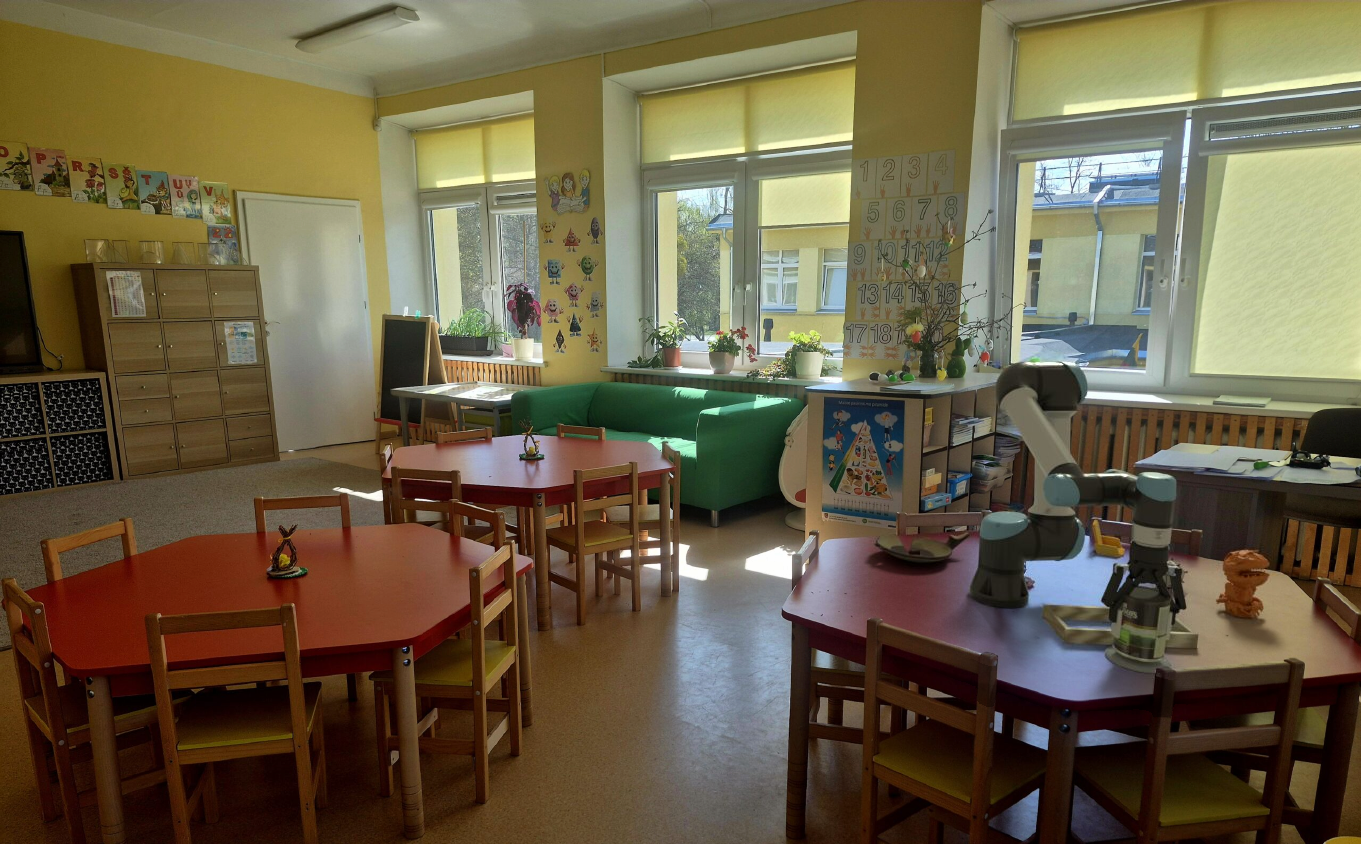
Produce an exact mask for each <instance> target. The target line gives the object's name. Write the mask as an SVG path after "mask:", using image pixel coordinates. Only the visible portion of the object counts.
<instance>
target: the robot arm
mask: <svg viewBox="0 0 1361 844" xmlns="http://www.w3.org/2000/svg"><path fill="white" fill-rule="evenodd" d="M1088 388H1089V387H1088V380H1087V377H1086V375H1085V373H1084V370H1082V369H1081V367H1080V366H1079V365H1078V364H1076V363H1074V362H1072V361H1071V362H1070V361H1059V360H1056V361H1019V362H1015V363H1012V364H1010V365H1009V366H1007V367H1006V368H1004V370H1002V372H1001V373H1000V374H999V376H998V377H997V379H996V382H995V386H994V396H995V397H994V398H995V402H996V403H997V406H998V408H999V409H1000V411H1001V412H1002V413H1003V415H1006V416H1008V417H1009V418H1010V420H1011V422H1012V423H1013V425H1014V426H1015V428H1016V430H1017V432H1018V433H1019V435H1020V436H1021V438H1022V440H1023V441H1024V443H1025V445H1026V446H1027V447H1028V450H1029V451H1030V453H1031V455H1032V456H1033V458H1034V500H1033V501H1034V502H1033V505H1032V506H1031V507H1029V509H1028V510H1027V515H1026V514H1025V513H1022V512H1017V511H1008V510H1007V511H997V512H992V513H989V514H987V515H985V516H984V517H982V519H981V524H980V530H979V547H978V561H977V568H976V571H975V573H974V575H973V578H972V580H971V582H970V585H969V589H968V591H969V592H968V594H969V596H970V598H972V599H973V600H974V601H976V602H978V603H981V604H984V605H986V606H987V605H988V606H990V607H991V606H992V607H996V608H1002V609H1003V608H1004V609H1005V608H1007V609H1017V608H1021V607H1025V606H1027V605H1028V604H1029V601H1030V599H1029V598H1030V593H1029V589H1028V585H1027V582H1026V577H1025V573H1024V572H1025V563H1026V562H1041V561H1042V562H1046V561H1047V562H1048V561H1050V562H1051V561H1052V562H1053V561H1055V562H1061V561H1065V560H1066V561H1068V560H1073V559H1075V558H1076V557H1078V555H1080V553H1081V552H1082V550H1083V548H1084V545H1085V541H1086V532H1085V528H1084V527H1083V523H1082V521H1081V520H1080V519H1079V518H1077V517H1076V512H1075V510H1074V509H1072V508H1073V507H1099V506H1100V507H1105V506H1107V507H1108V506H1120V507H1124V508H1126V509H1127V508H1128V509H1130V510H1132V511H1133V517H1132V527H1131V535H1130V538H1131V541H1130V543H1129V544H1130V545H1129V551H1128V556H1129V558H1128V562H1127V563H1126V564H1119V563H1118V562H1114V563H1113V564H1112V573H1111V576H1110V578H1109V581H1108V583H1107V585H1106V587H1105V589H1104V592H1103V594H1102V597H1101V599H1100V602H1101V603H1102V604H1103V605H1104V607H1109V620H1110V621H1109V622H1111V628H1110V629H1111V634H1112V635H1114V636H1115V637H1116V638H1120V631H1121V621H1122V612H1123V611H1122V610H1121V609H1120V607H1121V605H1122V604H1123V603H1124V595H1130V594H1131V592H1132V591H1133V590H1134V588H1135V587H1138V586H1140V584H1145V585H1146V584H1150V585H1155V587H1156V589H1157V590H1158V591H1159V593H1160V594H1162V595H1163V596H1165V597H1171V598H1172V600H1171V603H1170V610H1169V618H1168V626H1167V634H1166V640H1169V639H1170V630H1171V625H1174V624H1175V619H1176V618H1177V614H1178V615H1179V613H1180V612H1181V610H1183V611H1185V610H1186V609H1187V601H1186V598H1185V592H1184V588H1183V583H1182V582H1181V575H1182V569H1183V568H1182V567H1181V568H1182V569H1181V568H1179V567H1177V566H1176V565H1172V566H1168V565H1167V562H1168V561H1169V559H1170V557H1169V556H1170V546H1169V545H1170V544H1171V539H1172V538H1171V537H1172V529H1173V522H1174V512H1175V506H1176V498H1177V479H1176V478H1175V477H1174V476H1173V475H1171V474H1167V473H1161V472H1156V471H1155V472H1153V471H1152V472H1151V471H1145V472H1141V473H1139V474H1138V475H1135V474H1132V473H1130V472H1128V471H1125V470H1119V469H1114V468H1113V469H1111V468H1110V469H1107V470H1106V471H1103V472H1100V473H1099V472H1098V473H1085V472H1083V471H1082V469H1081V467H1080V466H1079V465H1078V463H1077V461H1076V460H1075V458H1074V457H1073V455H1072V454H1071V419H1072V417H1073V416H1074V415H1075V414H1076V413H1078V405H1080V404H1082V403H1084V401H1085V400H1086V397H1087V395H1088V391H1089V389H1088ZM1127 571H1128V575H1127V576H1126V578H1125V581H1124V582H1123V583H1122V581H1123V579H1124V575H1126V573H1127ZM1167 572H1168V574H1169V575H1170V581H1171V590H1172V595H1173V596H1172V595H1171V593H1170V591H1169V589H1168V587H1166V583H1165V581H1164V580H1163V578H1162V577H1163V576H1164V575H1165V574H1166V573H1167ZM1121 583H1122V585H1121ZM1119 588H1120V589H1119Z"/></svg>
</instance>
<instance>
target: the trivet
mask: <svg viewBox="0 0 1361 844" xmlns="http://www.w3.org/2000/svg"><path fill="white" fill-rule="evenodd" d="M1104 655H1105V658H1107V660H1108V661H1110V662H1111V663H1113V664H1114V665H1116V666H1119V667H1122V668H1124V669H1126V670H1129V671H1132V672H1133V671H1134V672H1136V673H1143V674H1149V675H1151V674H1155V670H1156V668H1157V667H1161V666H1169V667H1171V668H1172V663H1171V662H1170V661H1169V659H1168V658H1166V657H1165V656H1164V659H1163V660H1161V661H1159V662H1142V661H1137V660H1133V659H1130V658H1127V657H1125V656H1122V655H1120V654H1119V653H1117V652H1116V651H1115V650H1114V649H1113V645H1111V646H1109V647H1106V649H1105V652H1104ZM1155 675H1156V674H1155Z"/></svg>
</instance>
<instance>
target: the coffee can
mask: <svg viewBox="0 0 1361 844" xmlns="http://www.w3.org/2000/svg"><path fill="white" fill-rule="evenodd" d="M1119 589H1120V587H1119V588H1118V590H1119ZM1171 597H1172V596H1171ZM1171 597H1165V596H1163V595H1162V594H1160V593H1159V591H1158V589H1157V588H1154V587H1149V586H1143V585H1138V587H1135V588H1134V590H1133V591H1132V592H1131V594H1130V595H1124V603H1123V604H1122V605H1121V607H1120V609H1121V610H1122V611H1123V612H1122V621H1121V631H1120V638H1116V637H1115V636H1114V642H1113V645H1112V646H1113V649H1114V650H1115V651H1116V652H1117V653H1119V654H1120V655H1122V656H1125V657H1127V658H1130V659H1133V660H1137V661H1142V662H1159V661H1161V660H1163V659H1164V657H1165V649H1166V647H1165V642H1166V634H1167V626H1168V618H1169V610H1170V603H1171V600H1172V599H1173V597H1172V598H1171Z"/></svg>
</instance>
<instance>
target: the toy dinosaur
mask: <svg viewBox="0 0 1361 844" xmlns="http://www.w3.org/2000/svg"><path fill="white" fill-rule="evenodd" d="M1259 551H1260V550H1258V549H1255V550H1249V549H1242V550H1236V551H1230V552H1228V553H1227V554H1226V556H1224V559H1223V562H1222V563H1223V564H1222V571H1223V572H1224V574H1223V575H1224V576H1225V577H1226V580H1227V581H1228V582H1226V583H1225V584H1224V592H1223V593H1220V594H1219V596H1218V599H1215V602H1216V605H1218V604H1222V603H1224V609H1225V612H1226V613H1227V614H1229V615H1230V616H1234V617H1238V618H1243V619H1245V618H1246V619H1247V618H1249V619H1250V618H1252V619H1253V618H1254V617H1255V615H1257V616H1258V617H1260V615H1261V613H1260V612H1262V613H1263V611H1264V605H1263V604H1264V603H1263V601H1262V600H1261V599H1260V598H1258V597H1256V596H1254V595H1255V594H1256V593H1255V592H1256V591H1257V588H1258V587H1260V586H1262V585H1264V584H1265V583H1267V581H1268V579H1269V577H1270V575H1271V574H1270V573H1268V572H1266V571H1265V568H1269V567H1270V562H1269V560H1268V559H1267V558H1266V557H1264V555H1262V554H1259V553H1258V552H1259ZM1259 611H1260V612H1259Z"/></svg>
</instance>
